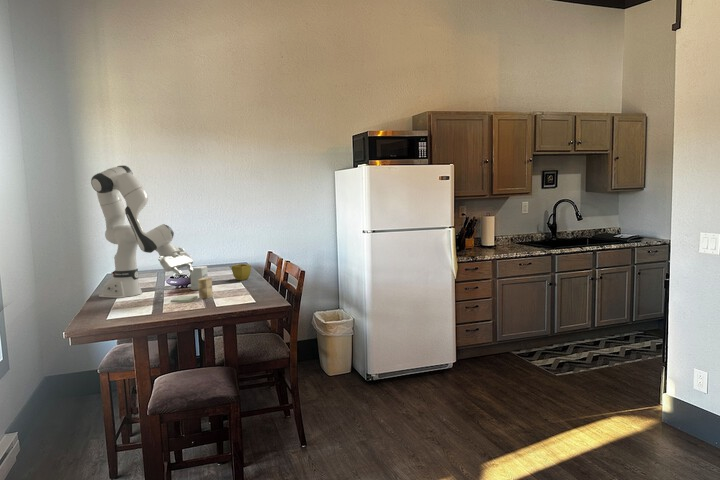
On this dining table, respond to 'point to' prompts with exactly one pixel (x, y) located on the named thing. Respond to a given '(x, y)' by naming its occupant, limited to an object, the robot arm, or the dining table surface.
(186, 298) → the tile
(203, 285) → the beech block
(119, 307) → the dining table surface
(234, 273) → the flower pot
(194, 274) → the supplement box
